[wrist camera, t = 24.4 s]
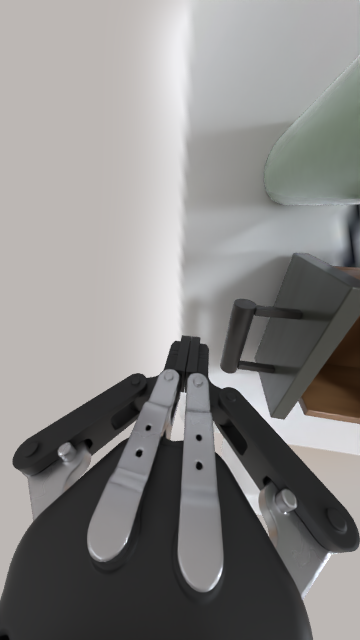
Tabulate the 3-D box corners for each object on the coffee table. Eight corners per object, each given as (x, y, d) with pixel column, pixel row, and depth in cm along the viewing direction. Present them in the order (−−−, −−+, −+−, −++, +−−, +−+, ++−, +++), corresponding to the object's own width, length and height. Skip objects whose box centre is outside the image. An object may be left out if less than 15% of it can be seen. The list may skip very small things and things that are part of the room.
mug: (268, 426, 31) (291, 520, 22) (221, 423, 33) (225, 508, 24) (272, 384, 25) (308, 492, 16) (215, 384, 27) (216, 479, 18)
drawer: (215, 352, 22) (216, 408, 16) (235, 249, 15) (249, 279, 9) (376, 373, 20) (449, 447, 14) (489, 262, 13) (745, 315, 7)
